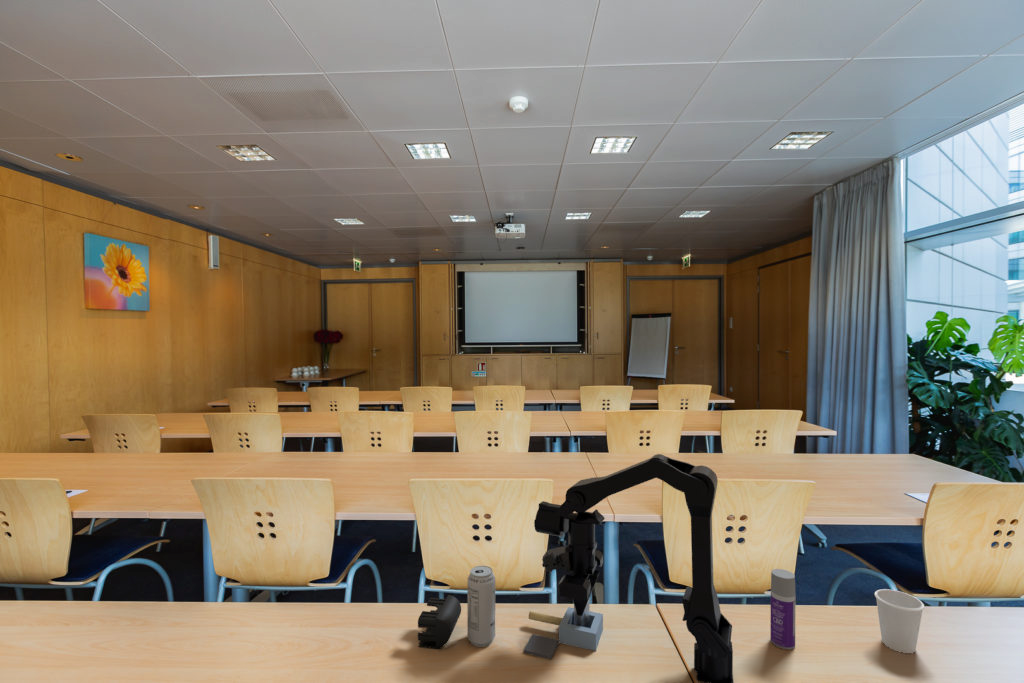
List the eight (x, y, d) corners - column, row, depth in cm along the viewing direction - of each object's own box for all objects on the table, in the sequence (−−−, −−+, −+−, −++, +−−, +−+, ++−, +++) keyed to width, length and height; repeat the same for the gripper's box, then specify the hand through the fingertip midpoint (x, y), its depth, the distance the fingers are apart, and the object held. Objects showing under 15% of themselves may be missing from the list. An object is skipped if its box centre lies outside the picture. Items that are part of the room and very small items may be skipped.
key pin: (590, 621, 109) (590, 581, 109) (587, 630, 106) (587, 588, 106) (575, 618, 110) (575, 578, 110) (572, 627, 107) (572, 585, 107)
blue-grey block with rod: (602, 629, 110) (602, 613, 110) (595, 651, 103) (595, 633, 103) (535, 615, 116) (535, 600, 116) (523, 634, 109) (523, 618, 109)
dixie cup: (893, 657, 101) (893, 609, 101) (865, 633, 109) (865, 588, 109) (934, 658, 101) (935, 609, 101) (903, 634, 109) (903, 589, 109)
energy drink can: (498, 645, 105) (498, 575, 105) (470, 650, 103) (470, 579, 103) (491, 629, 111) (491, 563, 110) (465, 634, 109) (465, 566, 109)
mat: (558, 642, 106) (558, 639, 106) (551, 659, 100) (551, 656, 100) (532, 636, 108) (532, 633, 108) (523, 652, 102) (523, 650, 102)
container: (770, 646, 105) (770, 575, 105) (770, 634, 109) (770, 566, 109) (795, 652, 103) (796, 580, 103) (794, 640, 107) (795, 571, 107)
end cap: (449, 652, 103) (449, 620, 103) (417, 649, 104) (417, 617, 104) (461, 624, 113) (461, 595, 113) (431, 622, 114) (431, 592, 114)
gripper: (557, 520, 120) (557, 584, 120) (533, 551, 102) (533, 626, 102) (603, 526, 116) (603, 592, 116) (586, 559, 98) (586, 638, 98)
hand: (581, 610), depth 108 cm, fingers closed on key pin, 3 cm apart
